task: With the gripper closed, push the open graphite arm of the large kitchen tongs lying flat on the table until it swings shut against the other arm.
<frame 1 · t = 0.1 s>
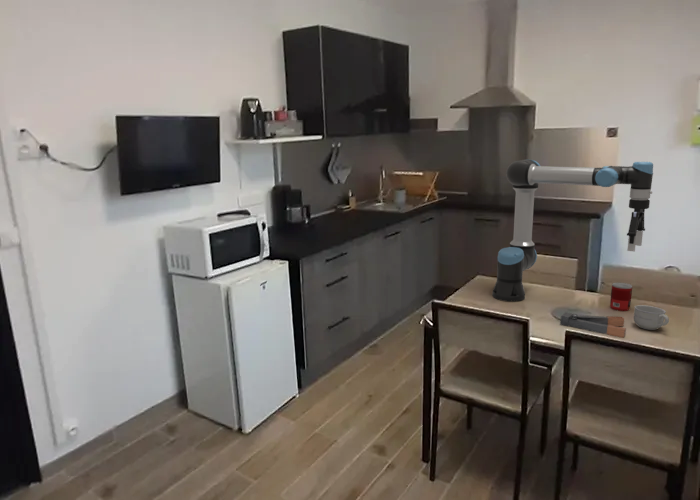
hand: (634, 248, 218), 28 cm above the table, tool pointing down, fingers open, 13 cm apart
tongs base: (573, 325, 207), on the table
canned food: (619, 308, 226), on the table
teacup: (650, 329, 202), on the table
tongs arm: (596, 320, 206), point 2 cm above the table, hinge at 30.0°
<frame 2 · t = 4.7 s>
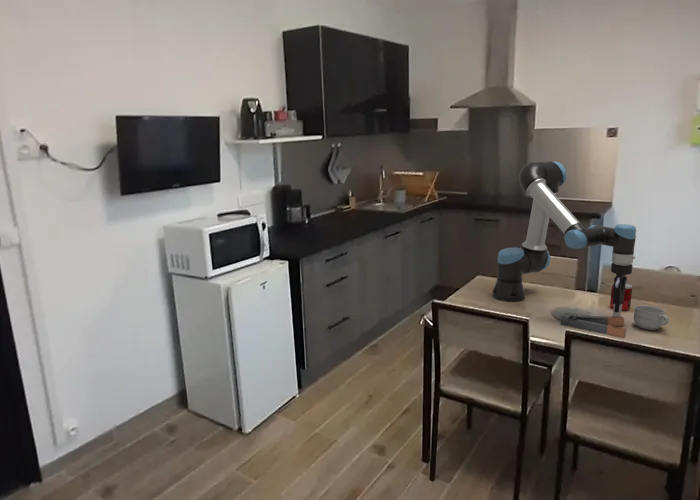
hand: (616, 318, 208), 2 cm above the table, tool pointing down, fingers closed
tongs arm: (596, 320, 206), point 2 cm above the table, hinge at 30.0°, touching gripper
everything else where it was.
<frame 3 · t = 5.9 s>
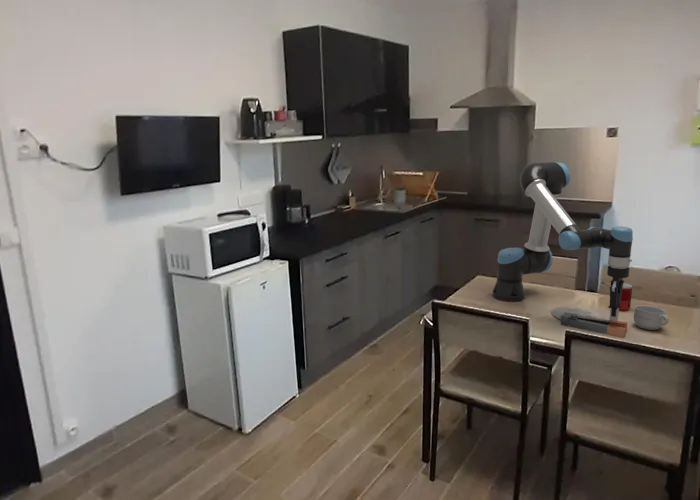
hand: (613, 323, 203), 2 cm above the table, tool pointing down, fingers closed
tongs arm: (598, 322, 203), point 2 cm above the table, hinge at 10.5°, touching gripper
everything else where it was.
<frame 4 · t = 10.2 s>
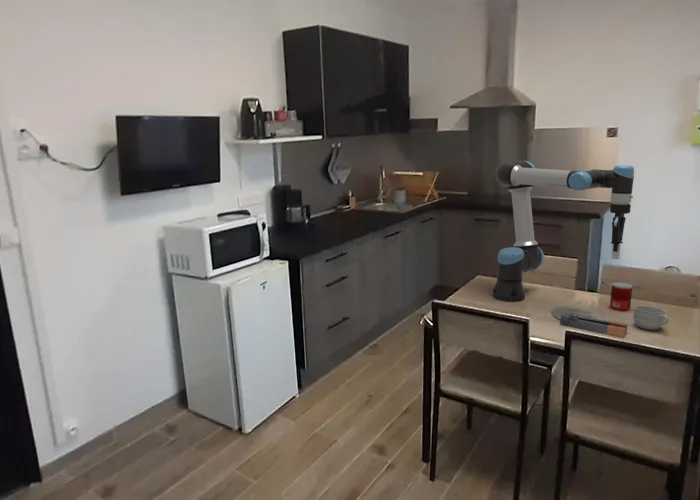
hand: (615, 258, 215), 24 cm above the table, tool pointing down, fingers closed
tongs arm: (598, 323, 203), point 2 cm above the table, hinge at 5.0°
everything else where it was.
at the end: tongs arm at +5° (first picture: +30°) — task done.
